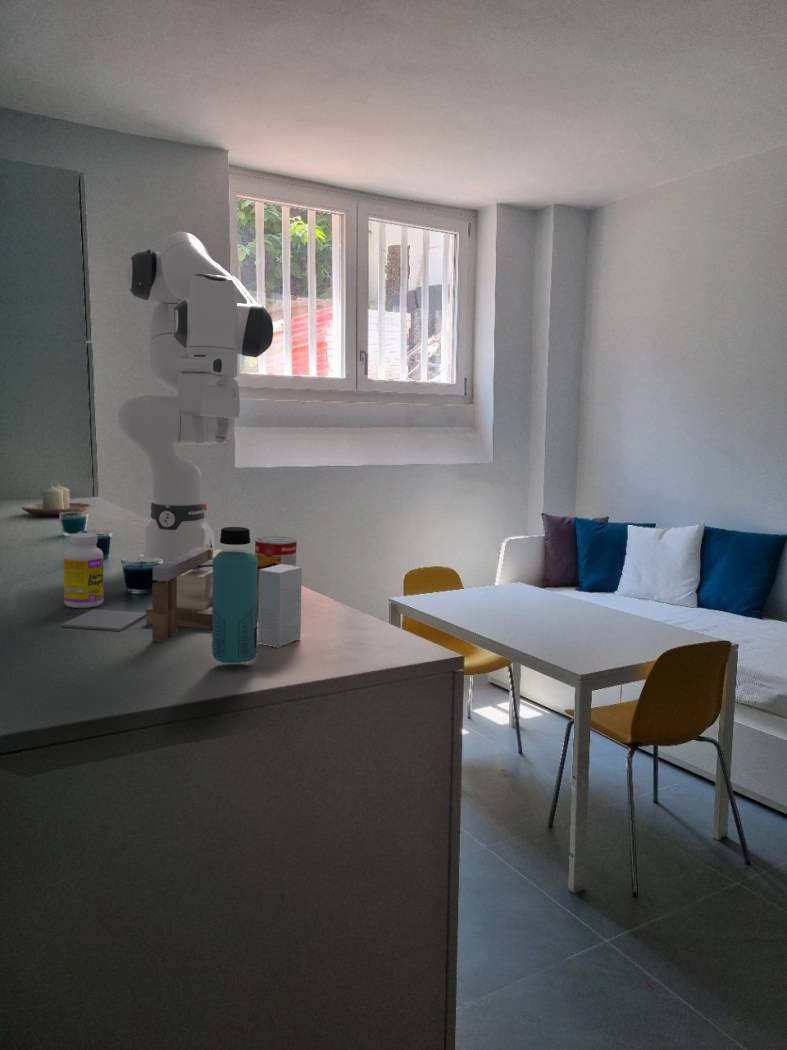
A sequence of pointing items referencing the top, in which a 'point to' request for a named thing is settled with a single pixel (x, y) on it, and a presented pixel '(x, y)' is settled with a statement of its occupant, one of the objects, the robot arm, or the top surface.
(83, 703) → the top surface
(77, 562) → the supplement bottle
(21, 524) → the top surface
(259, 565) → the canned food
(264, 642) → the skincare box
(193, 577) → the birch block
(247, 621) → the beverage bottle
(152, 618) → the holder
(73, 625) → the mat
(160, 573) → the grey sliding bar
